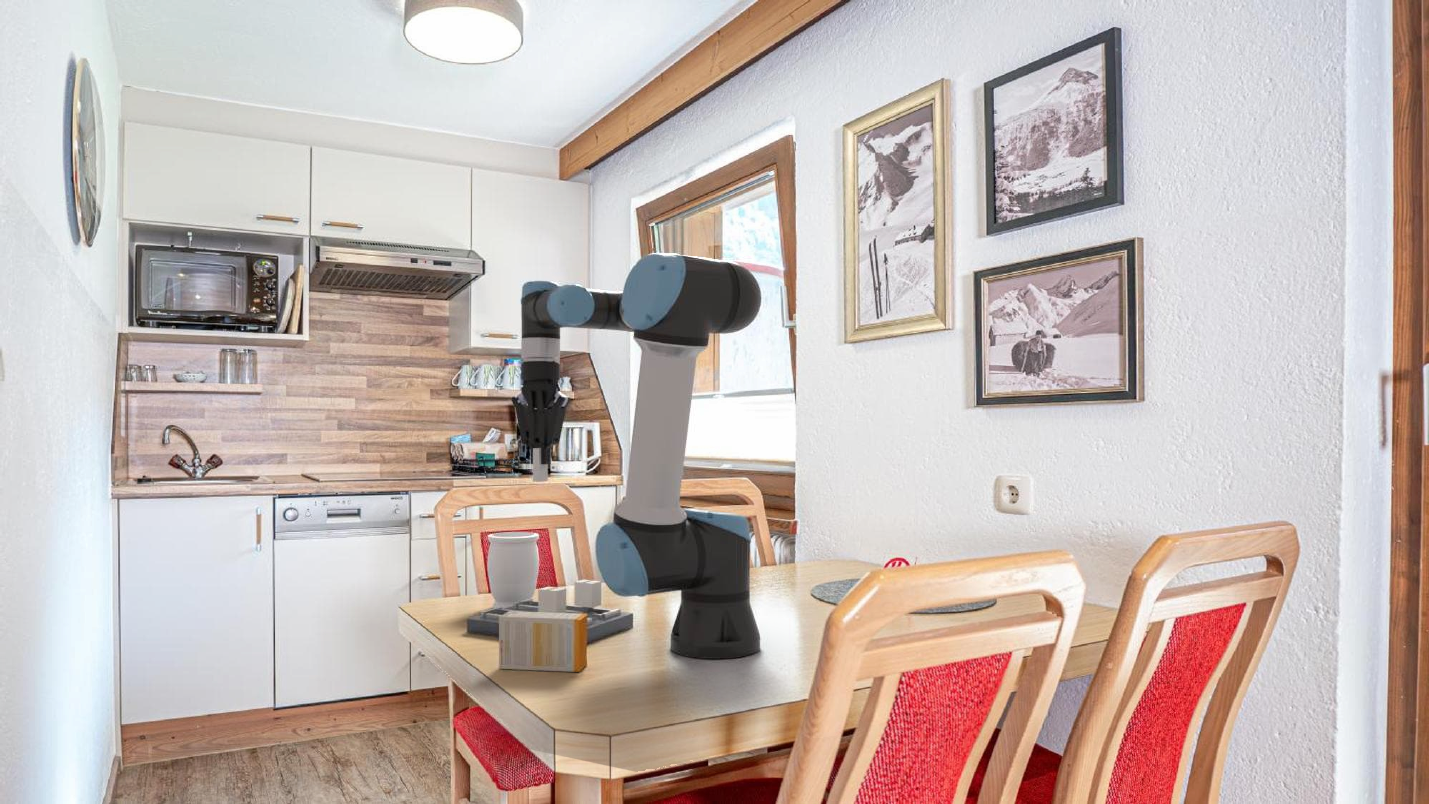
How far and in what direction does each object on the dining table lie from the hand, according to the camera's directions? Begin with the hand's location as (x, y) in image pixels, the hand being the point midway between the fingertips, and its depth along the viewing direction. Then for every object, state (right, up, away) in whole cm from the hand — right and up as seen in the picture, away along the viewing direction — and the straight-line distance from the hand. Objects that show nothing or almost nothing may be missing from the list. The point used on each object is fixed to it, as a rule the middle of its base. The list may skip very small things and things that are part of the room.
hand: (540, 481), depth 183 cm
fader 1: (+5, -23, -17) cm, 29 cm away
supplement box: (+14, -22, -38) cm, 46 cm away
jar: (-7, -27, +8) cm, 29 cm away
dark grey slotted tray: (+4, -26, -12) cm, 29 cm away
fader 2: (+11, -23, -10) cm, 28 cm away
